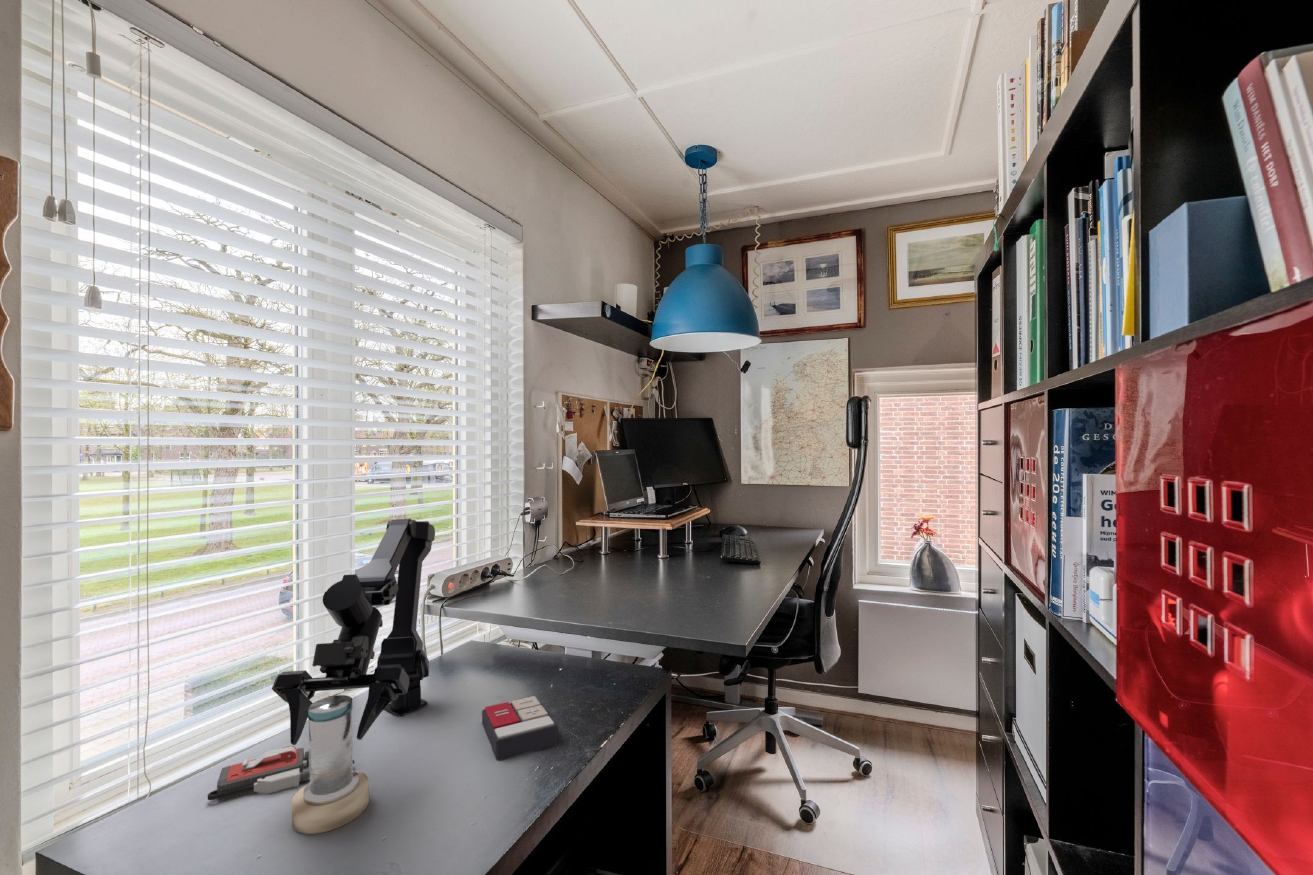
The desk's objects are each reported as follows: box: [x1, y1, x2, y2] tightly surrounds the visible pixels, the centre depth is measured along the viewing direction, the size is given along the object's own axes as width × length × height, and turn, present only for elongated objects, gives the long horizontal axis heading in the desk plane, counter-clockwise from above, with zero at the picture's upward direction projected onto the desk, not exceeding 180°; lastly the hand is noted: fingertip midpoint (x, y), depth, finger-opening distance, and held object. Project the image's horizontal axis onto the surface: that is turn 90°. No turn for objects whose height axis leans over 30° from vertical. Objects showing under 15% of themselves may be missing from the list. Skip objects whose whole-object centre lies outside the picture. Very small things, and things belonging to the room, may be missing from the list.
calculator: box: [481, 695, 559, 761], centre depth 105 cm, size 11×4×15 cm
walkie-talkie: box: [207, 745, 355, 802], centre depth 92 cm, size 9×4×20 cm
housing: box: [303, 694, 359, 806], centre depth 83 cm, size 7×7×13 cm
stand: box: [291, 770, 370, 835], centre depth 83 cm, size 10×10×3 cm
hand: (326, 741), depth 82 cm, fingers open, 9 cm apart
